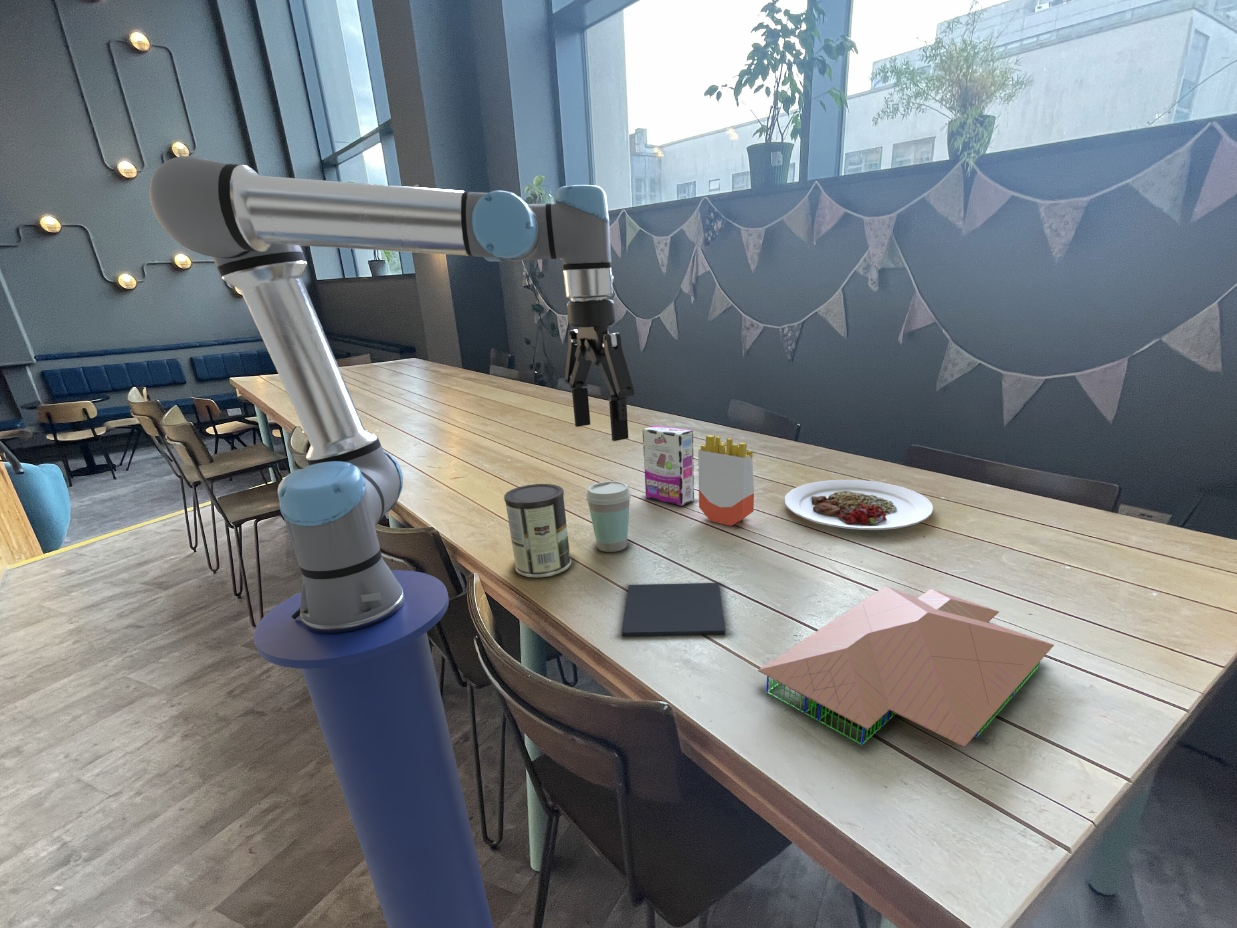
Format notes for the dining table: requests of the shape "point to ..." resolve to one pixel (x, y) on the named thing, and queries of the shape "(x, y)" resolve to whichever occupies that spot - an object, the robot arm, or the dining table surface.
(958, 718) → the house
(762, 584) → the dining table surface
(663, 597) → the mat
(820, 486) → the plated food
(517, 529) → the coffee can
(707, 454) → the french fries container
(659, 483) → the candy bar box
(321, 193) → the robot arm
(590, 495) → the coffee cup
